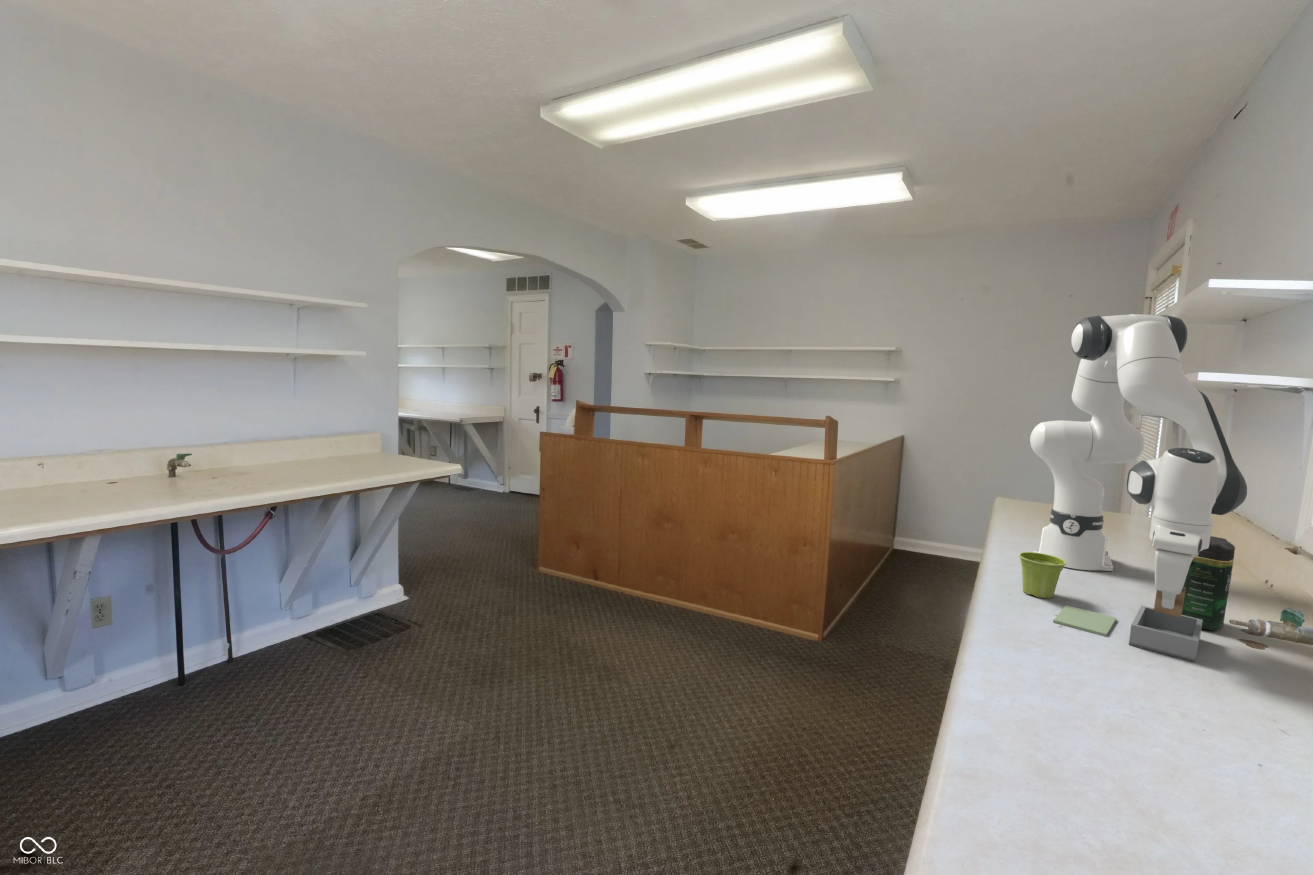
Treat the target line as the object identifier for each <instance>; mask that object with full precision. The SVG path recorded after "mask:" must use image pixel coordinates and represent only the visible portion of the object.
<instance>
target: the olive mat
mask: <svg viewBox="0 0 1313 875" xmlns="http://www.w3.org/2000/svg"><path fill="white" fill-rule="evenodd" d="M1052 621H1053V623H1055V624H1058V625H1062V626H1066V627H1069V628H1073V629H1077V630H1082V631H1084V632H1088V633H1092V634H1095V635H1098V636H1104V637H1108V634H1109V633H1110V631H1111V630H1112V628H1113V626H1114V624H1115V623H1116V622H1117V617H1115V616H1112V615H1111V616H1110V615H1106V614H1103V613H1099V612H1094V611H1090V610H1087V609H1082V608H1078V607H1074V606H1072V605H1071V606H1070V605H1065V606H1064V607H1063V609H1061V611H1060V612H1059V613H1058V614H1057V615H1056V616H1055V617H1054V619H1053V620H1052Z"/></svg>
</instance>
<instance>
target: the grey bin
mask: <svg viewBox="0 0 1313 875" xmlns="http://www.w3.org/2000/svg"><path fill="white" fill-rule="evenodd" d="M1202 622H1203V620H1202V619H1198V618H1193V617H1189V616H1185V615H1181V618H1180V617H1175V616H1171V615H1167V614H1163V613H1159V612H1155V611H1154V607H1150V606H1145V605H1141V606H1140V607H1139V609H1138V611H1137V613H1136V615H1135V617H1134V619H1133V621H1132V623H1131V626H1130V632H1129V641H1128V645H1129V646H1132V647H1135V648H1138V649H1143V650H1147V651H1151V652H1155V653H1158V654H1162V655H1166V656H1170V657H1173V658H1176V659H1180V660H1185V661H1188V662H1191V663H1195V662H1196V660H1197V655H1198V650H1199V647H1200V646H1199V645H1200V641H1201V640H1200V639H1201V635H1202Z"/></svg>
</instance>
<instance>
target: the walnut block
mask: <svg viewBox="0 0 1313 875" xmlns="http://www.w3.org/2000/svg"><path fill="white" fill-rule="evenodd" d="M1185 591H1186V587H1183V588H1182V591H1181V593H1180V594H1176V598H1175V604H1174V608H1173V609H1168V608H1164V607H1162V591H1159V590H1157V589H1156V594H1155V599H1154V607H1153V608H1154V611H1155V612H1159V613H1163V614H1167V615H1171V616H1175V617H1180V618H1181V614H1182V611H1183V604H1184V597H1185Z"/></svg>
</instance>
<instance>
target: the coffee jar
mask: <svg viewBox="0 0 1313 875" xmlns="http://www.w3.org/2000/svg"><path fill="white" fill-rule="evenodd" d="M1235 550H1236V547H1235V545H1234V544H1233V543H1231V541H1230V542H1229V541H1228V540H1227V539H1226V538H1223V537H1217V536H1212V535H1211V536H1210V543H1209V548H1208V549H1204V550H1202V551H1200V552H1199V555H1198V556H1195V557H1194V558H1193V560H1192V562H1191V564H1190V567H1189V570H1188V573H1187V576H1186V579H1185V583H1184V586H1183V587H1186V591H1185V597H1184V604H1183V611H1182V614H1181V615H1185V616H1189V617H1193V618H1198V619H1202V620H1203V622H1202V629H1204V630H1210V631H1218V630H1219V629H1221V628H1222V627H1223V626H1224V623H1225V616H1226V610H1227V604H1228V598H1229V592H1230V587H1231V581H1232V574H1233V568H1234V566H1233V565H1234V559H1235ZM1202 629H1201V630H1202Z"/></svg>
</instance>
